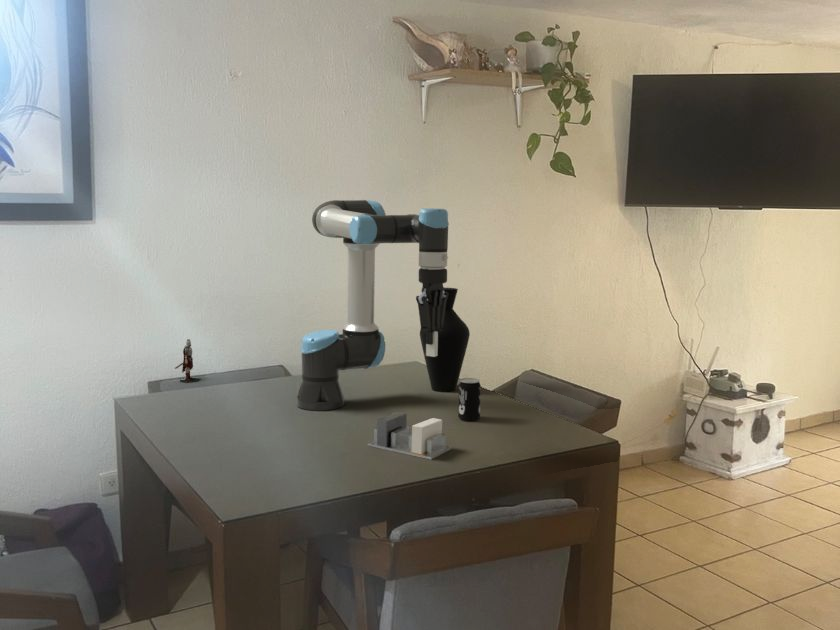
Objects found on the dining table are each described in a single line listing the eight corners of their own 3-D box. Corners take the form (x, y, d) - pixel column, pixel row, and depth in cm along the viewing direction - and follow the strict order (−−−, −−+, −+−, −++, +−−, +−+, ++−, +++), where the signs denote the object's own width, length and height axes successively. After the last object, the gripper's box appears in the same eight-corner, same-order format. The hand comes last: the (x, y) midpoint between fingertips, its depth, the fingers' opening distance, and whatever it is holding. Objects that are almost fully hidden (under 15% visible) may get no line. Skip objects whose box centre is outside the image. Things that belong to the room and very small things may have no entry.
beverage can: (478, 422, 237) (479, 383, 235) (456, 421, 238) (457, 382, 236) (481, 416, 243) (482, 378, 241) (459, 415, 244) (460, 377, 242)
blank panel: (411, 451, 206) (412, 425, 206) (431, 443, 215) (432, 417, 214) (421, 453, 205) (421, 427, 204) (441, 445, 213) (442, 419, 212)
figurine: (196, 382, 281) (194, 341, 278) (175, 382, 281) (173, 340, 278) (201, 378, 287) (200, 337, 285) (181, 378, 287) (179, 337, 285)
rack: (367, 445, 214) (367, 418, 213) (389, 436, 222) (389, 409, 221) (431, 459, 203) (431, 430, 202) (450, 449, 212) (451, 421, 211)
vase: (433, 397, 265) (435, 293, 259) (410, 386, 280) (411, 287, 274) (477, 392, 273) (480, 290, 267) (452, 381, 288) (454, 285, 282)
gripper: (432, 270, 201) (430, 361, 205) (457, 266, 212) (456, 353, 216) (407, 268, 205) (406, 358, 209) (433, 265, 216) (432, 350, 220)
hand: (431, 355), depth 213 cm, fingers closed
